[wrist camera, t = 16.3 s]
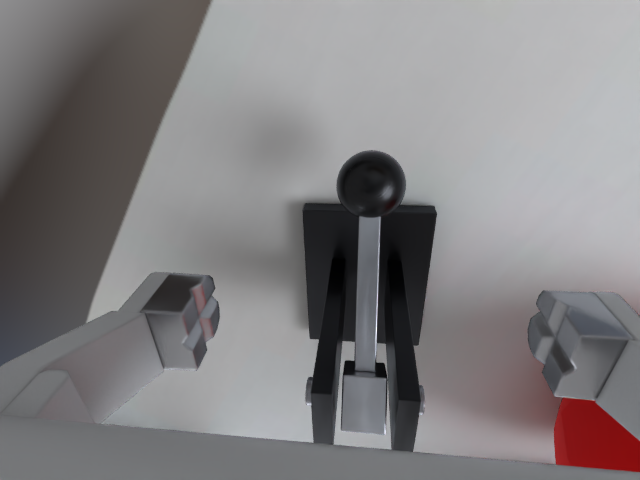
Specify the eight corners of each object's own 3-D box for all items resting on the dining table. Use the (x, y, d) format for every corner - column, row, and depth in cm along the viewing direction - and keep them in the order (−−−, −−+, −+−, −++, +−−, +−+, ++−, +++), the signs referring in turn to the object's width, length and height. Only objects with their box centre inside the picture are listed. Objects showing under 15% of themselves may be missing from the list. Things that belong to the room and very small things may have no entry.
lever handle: (339, 158, 21) (335, 142, 18) (403, 159, 21) (411, 142, 17) (331, 404, 21) (325, 436, 18) (394, 409, 21) (401, 443, 17)
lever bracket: (305, 203, 26) (258, 327, 15) (434, 205, 25) (484, 341, 14) (311, 329, 32) (281, 484, 21) (416, 335, 31) (442, 502, 20)
